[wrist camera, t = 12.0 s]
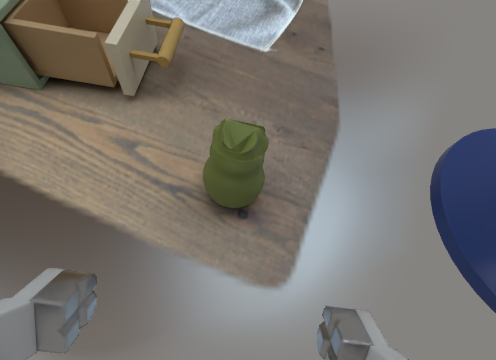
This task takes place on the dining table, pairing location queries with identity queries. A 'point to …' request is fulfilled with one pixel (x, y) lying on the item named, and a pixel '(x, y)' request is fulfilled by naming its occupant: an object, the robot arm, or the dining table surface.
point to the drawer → (91, 39)
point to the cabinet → (15, 58)
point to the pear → (235, 163)
